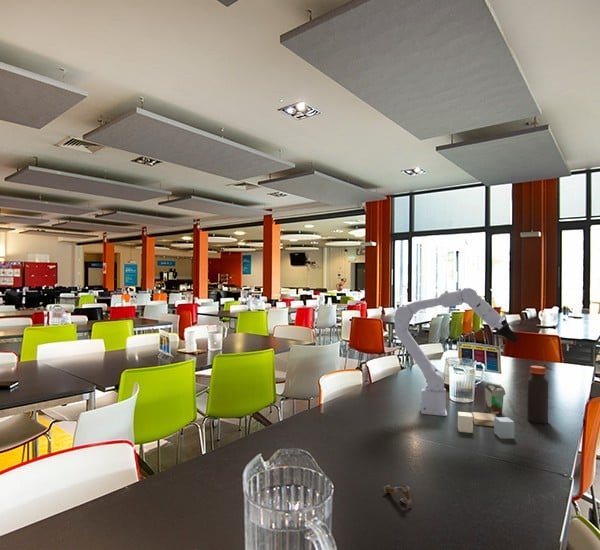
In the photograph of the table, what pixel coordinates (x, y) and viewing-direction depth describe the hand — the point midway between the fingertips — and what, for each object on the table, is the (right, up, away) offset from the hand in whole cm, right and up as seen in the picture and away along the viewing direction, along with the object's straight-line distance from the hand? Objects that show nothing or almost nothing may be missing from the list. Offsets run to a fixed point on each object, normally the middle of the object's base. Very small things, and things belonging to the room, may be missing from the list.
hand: (515, 339), depth 155 cm
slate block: (-11, -30, -15) cm, 35 cm away
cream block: (-22, -30, -9) cm, 38 cm away
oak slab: (-12, -30, -1) cm, 33 cm away
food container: (-2, -30, +10) cm, 32 cm away
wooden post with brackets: (-56, -29, -56) cm, 84 cm away
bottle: (+9, -30, +1) cm, 32 cm away
